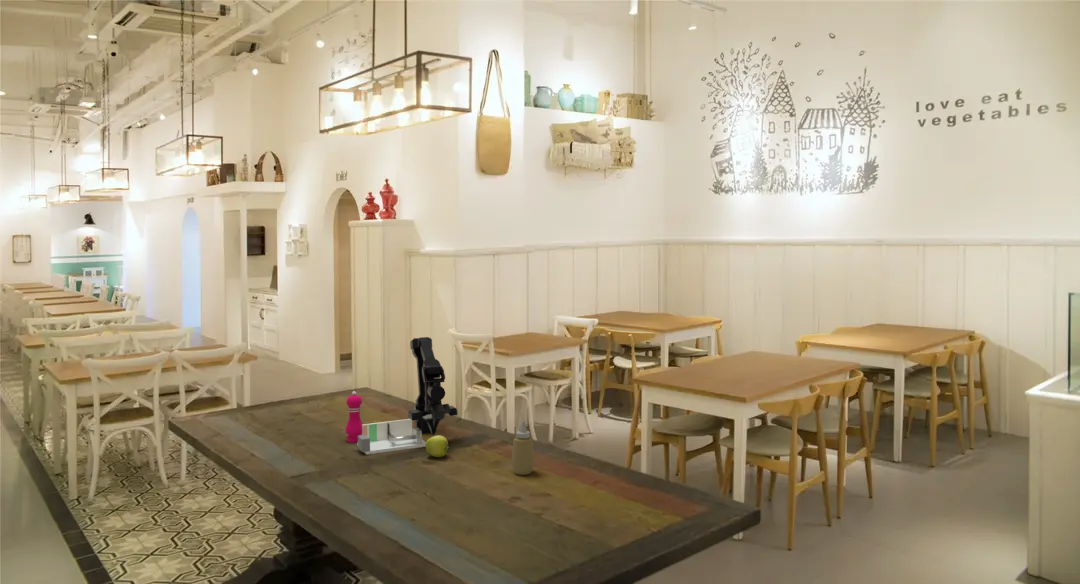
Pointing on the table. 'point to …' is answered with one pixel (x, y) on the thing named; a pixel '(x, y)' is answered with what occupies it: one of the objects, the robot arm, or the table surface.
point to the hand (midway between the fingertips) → (433, 434)
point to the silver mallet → (416, 436)
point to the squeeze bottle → (523, 452)
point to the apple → (437, 446)
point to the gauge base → (386, 437)
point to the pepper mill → (354, 418)
